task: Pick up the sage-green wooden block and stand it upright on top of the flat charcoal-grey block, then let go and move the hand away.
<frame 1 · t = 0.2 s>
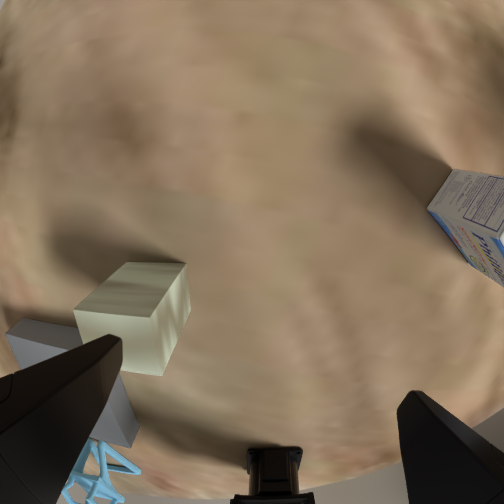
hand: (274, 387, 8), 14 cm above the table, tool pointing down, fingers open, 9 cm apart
grey block: (80, 374, 27), on the table
light blue lattice frame: (109, 453, 32), on the table
medicine box: (462, 218, 20), on the table
sage block: (158, 286, 22), on the table
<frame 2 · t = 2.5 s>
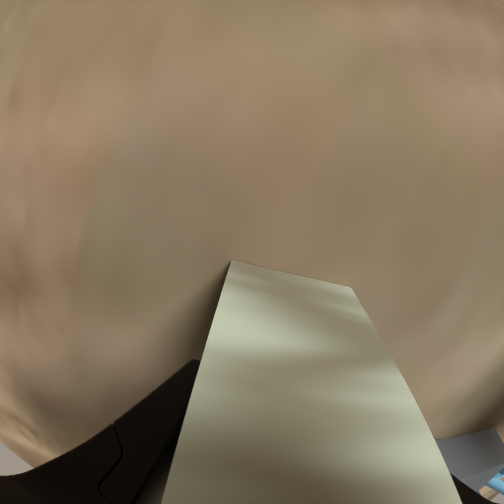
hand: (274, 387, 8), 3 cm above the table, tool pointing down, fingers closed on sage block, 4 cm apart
grey block: (384, 482, 15), on the table
light blue lattice frame: (494, 465, 16), on the table
sage block: (272, 338, 10), on the table, touching gripper
when the fingers open (8 cm above the table, at t = 6.5 s): sage block drops 2 cm, resting on grey block.
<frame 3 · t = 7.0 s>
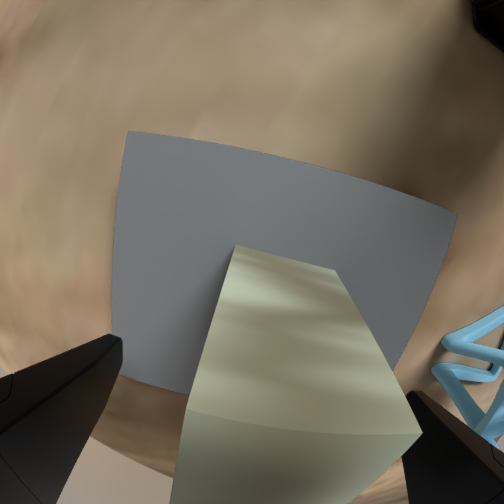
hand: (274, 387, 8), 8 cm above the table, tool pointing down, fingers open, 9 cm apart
grey block: (269, 274, 16), on the table, touching sage block
light blue lattice frame: (474, 345, 17), on the table
sage block: (268, 313, 12), point 3 cm above the table, touching grey block
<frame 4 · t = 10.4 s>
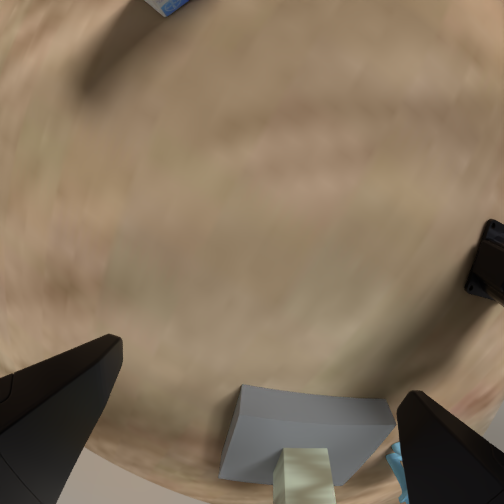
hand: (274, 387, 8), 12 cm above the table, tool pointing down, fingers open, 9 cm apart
grey block: (299, 430, 26), on the table, touching sage block
light blue lattice frame: (416, 443, 27), on the table
sage block: (299, 461, 22), point 3 cm above the table, touching grey block
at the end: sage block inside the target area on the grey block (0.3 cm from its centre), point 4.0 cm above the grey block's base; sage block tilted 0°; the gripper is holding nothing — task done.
